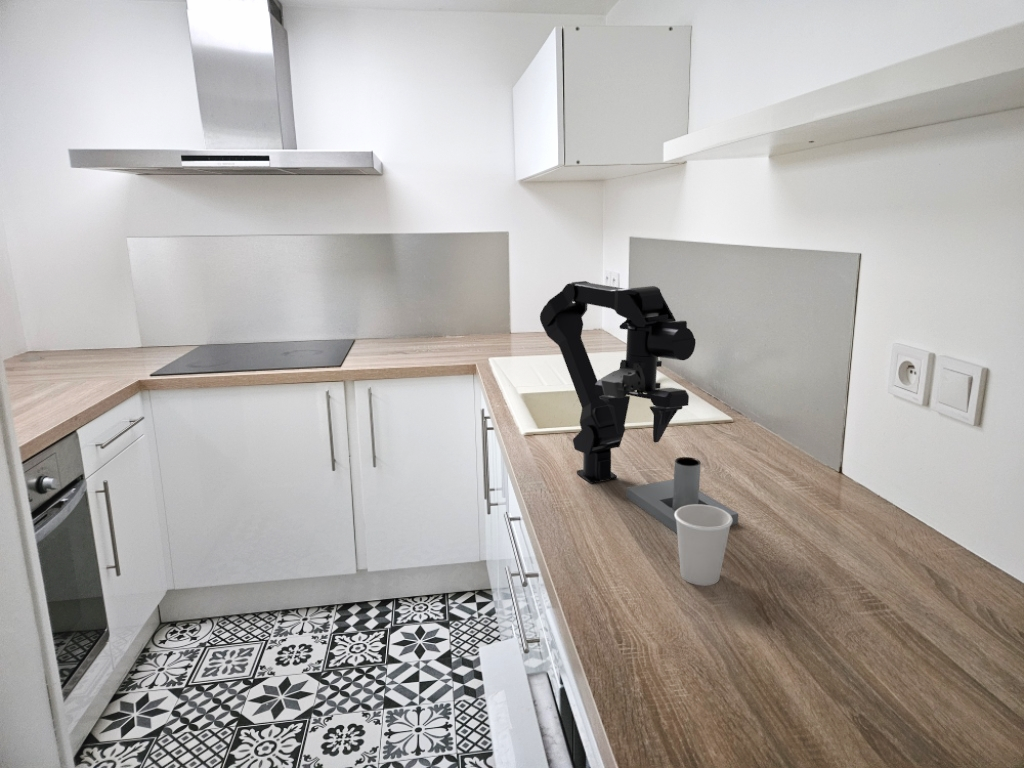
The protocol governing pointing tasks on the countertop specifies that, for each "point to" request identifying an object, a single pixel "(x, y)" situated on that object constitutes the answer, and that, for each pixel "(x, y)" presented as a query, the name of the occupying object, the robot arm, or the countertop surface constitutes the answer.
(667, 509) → the socket board
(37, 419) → the countertop surface
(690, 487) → the gray tube
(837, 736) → the countertop surface
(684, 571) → the dixie cup
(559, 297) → the robot arm
